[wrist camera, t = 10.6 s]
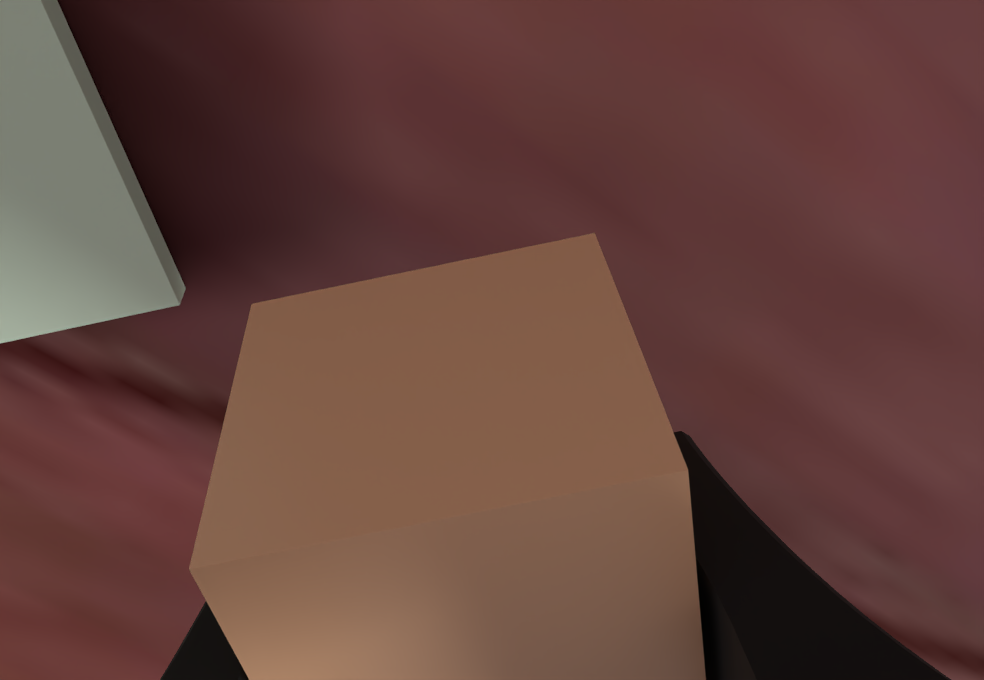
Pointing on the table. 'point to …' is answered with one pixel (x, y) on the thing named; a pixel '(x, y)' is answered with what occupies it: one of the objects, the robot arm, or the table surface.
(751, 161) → the table surface
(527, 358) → the tan brick
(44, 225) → the baseplate
